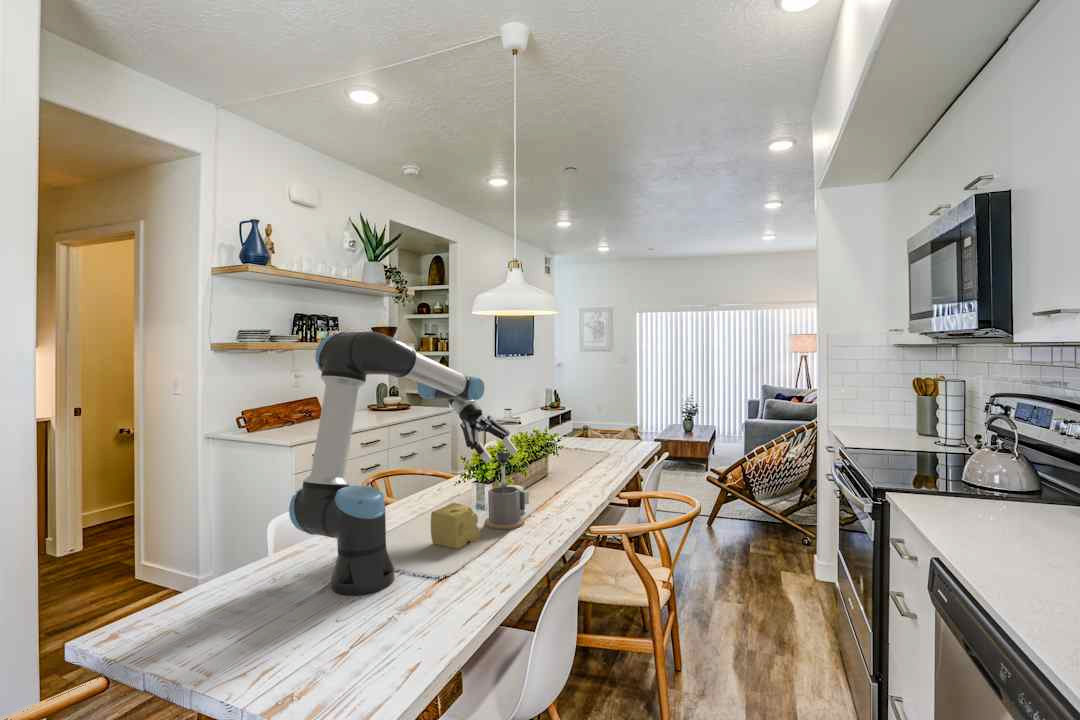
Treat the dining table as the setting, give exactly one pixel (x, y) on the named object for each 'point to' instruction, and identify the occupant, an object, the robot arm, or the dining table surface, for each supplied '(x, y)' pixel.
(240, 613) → the dining table surface
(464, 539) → the cheese
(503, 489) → the plunger
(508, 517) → the grey octagonal cup
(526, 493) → the pale green dome knob
